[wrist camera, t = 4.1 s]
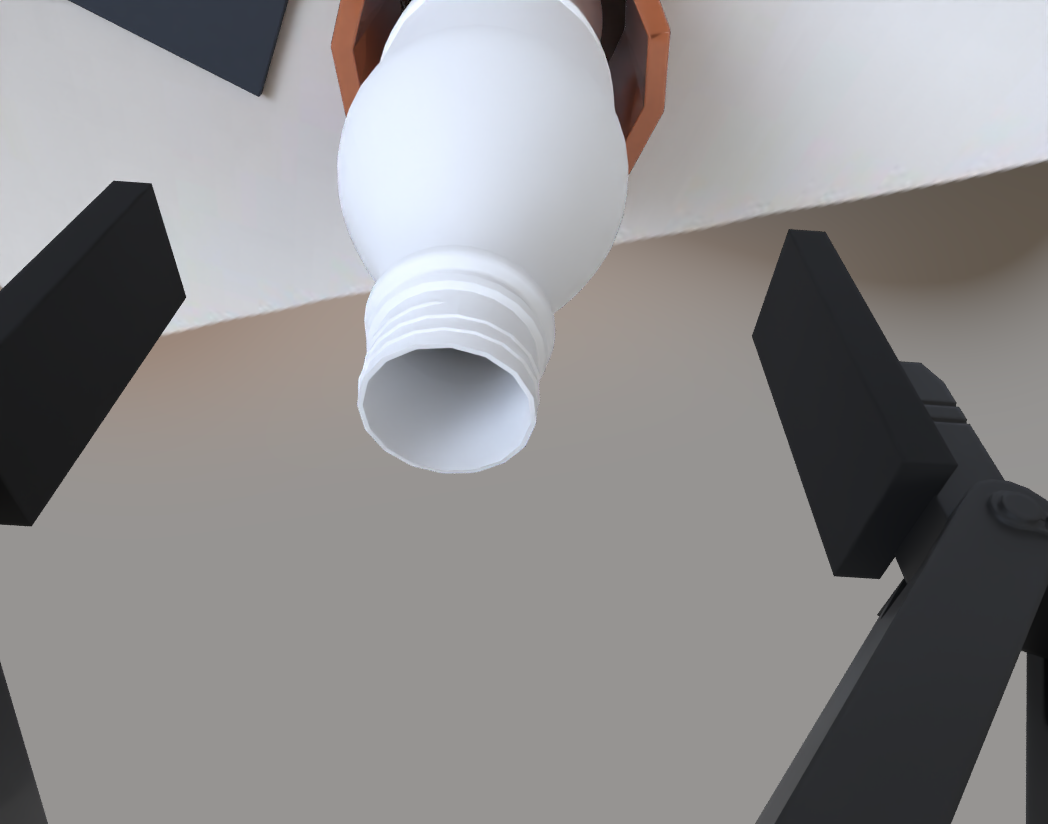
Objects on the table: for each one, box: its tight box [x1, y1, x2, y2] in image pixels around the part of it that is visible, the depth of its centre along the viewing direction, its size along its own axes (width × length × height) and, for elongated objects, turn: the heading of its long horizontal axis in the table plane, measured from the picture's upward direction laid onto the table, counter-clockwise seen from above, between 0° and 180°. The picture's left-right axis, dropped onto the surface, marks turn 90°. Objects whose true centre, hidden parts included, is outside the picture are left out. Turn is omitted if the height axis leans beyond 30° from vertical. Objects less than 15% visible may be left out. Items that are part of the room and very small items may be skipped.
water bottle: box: [338, 0, 628, 474], centre depth 21 cm, size 7×7×25 cm
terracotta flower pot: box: [331, 0, 671, 175], centre depth 27 cm, size 11×11×9 cm
